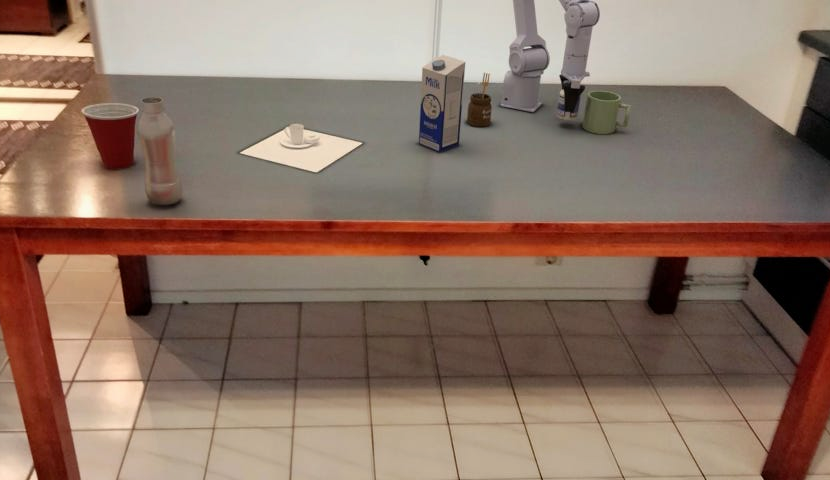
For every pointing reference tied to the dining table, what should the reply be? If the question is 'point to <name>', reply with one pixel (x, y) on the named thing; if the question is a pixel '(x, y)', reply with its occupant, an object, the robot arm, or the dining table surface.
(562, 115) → the pill bottle
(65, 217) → the dining table surface
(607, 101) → the mug
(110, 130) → the plastic cup
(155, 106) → the plastic bottle
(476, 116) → the utensil holder
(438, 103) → the milk carton
